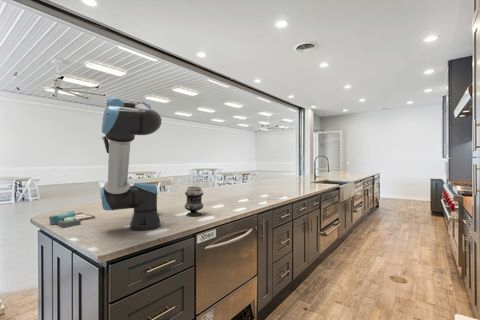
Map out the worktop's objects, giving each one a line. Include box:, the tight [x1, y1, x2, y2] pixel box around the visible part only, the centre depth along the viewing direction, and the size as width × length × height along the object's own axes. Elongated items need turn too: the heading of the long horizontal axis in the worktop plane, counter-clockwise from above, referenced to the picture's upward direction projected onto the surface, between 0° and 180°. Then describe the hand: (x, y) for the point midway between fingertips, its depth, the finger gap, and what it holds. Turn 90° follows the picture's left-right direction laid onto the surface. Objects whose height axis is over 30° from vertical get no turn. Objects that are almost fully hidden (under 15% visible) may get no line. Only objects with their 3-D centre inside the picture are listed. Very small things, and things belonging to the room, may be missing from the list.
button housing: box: [56, 218, 81, 229], centre depth 133 cm, size 8×8×2 cm
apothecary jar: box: [184, 186, 204, 217], centre depth 159 cm, size 12×12×18 cm
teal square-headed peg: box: [48, 210, 76, 225], centre depth 139 cm, size 4×4×11 cm
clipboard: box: [74, 212, 96, 222], centre depth 149 cm, size 20×16×2 cm
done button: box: [64, 217, 74, 222], centre depth 133 cm, size 4×4×3 cm
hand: (114, 165), depth 145 cm, fingers closed
